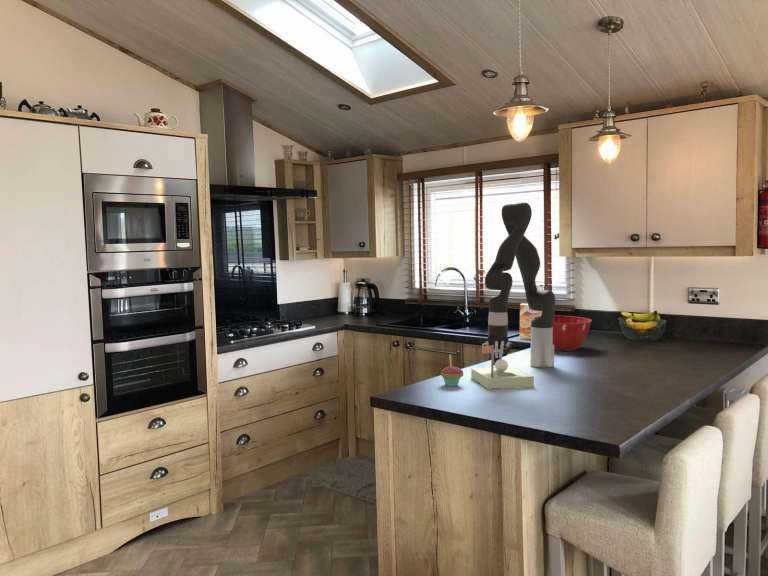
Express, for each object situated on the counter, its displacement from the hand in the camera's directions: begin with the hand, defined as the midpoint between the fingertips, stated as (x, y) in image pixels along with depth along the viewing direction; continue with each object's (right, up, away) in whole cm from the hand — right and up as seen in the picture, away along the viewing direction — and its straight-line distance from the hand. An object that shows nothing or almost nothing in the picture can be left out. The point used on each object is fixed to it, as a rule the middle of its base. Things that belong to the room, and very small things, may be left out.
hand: (497, 367), depth 245 cm
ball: (+1, +1, -4) cm, 4 cm away
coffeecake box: (+39, +2, +106) cm, 113 cm away
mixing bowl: (+46, 0, +72) cm, 85 cm away
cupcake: (-19, -6, -8) cm, 21 cm away
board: (+1, -5, -4) cm, 7 cm away
